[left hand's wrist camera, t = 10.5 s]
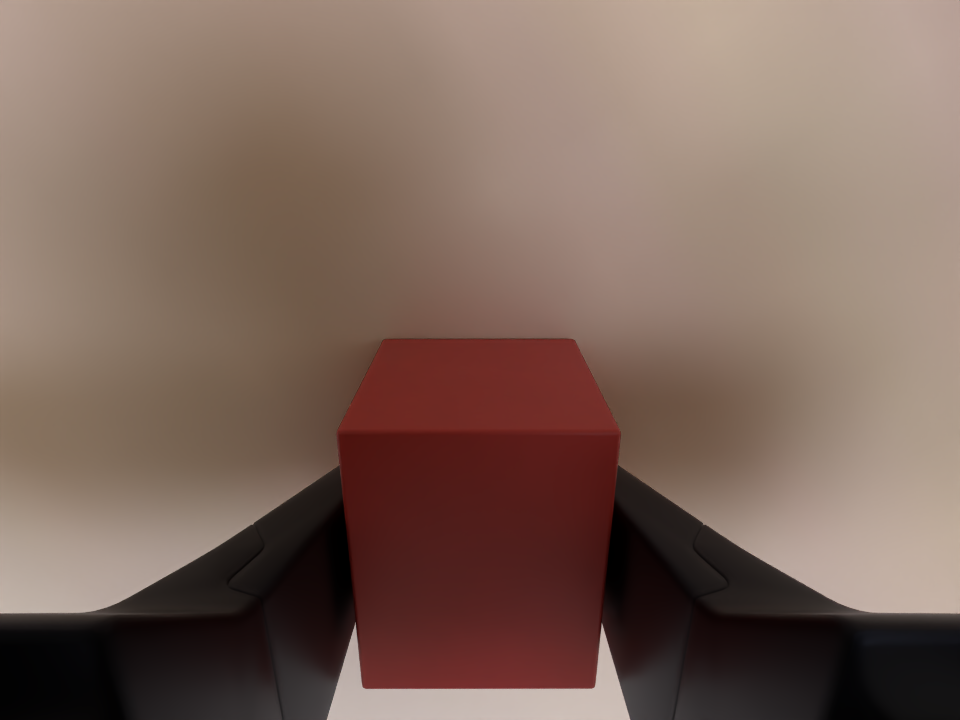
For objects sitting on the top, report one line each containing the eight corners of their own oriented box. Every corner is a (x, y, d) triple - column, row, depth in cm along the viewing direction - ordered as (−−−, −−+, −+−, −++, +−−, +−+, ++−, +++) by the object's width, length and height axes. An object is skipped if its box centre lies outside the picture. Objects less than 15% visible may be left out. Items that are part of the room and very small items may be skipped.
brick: (562, 535, 13) (595, 691, 9) (395, 535, 13) (361, 690, 9) (575, 337, 12) (622, 431, 8) (382, 337, 12) (334, 431, 8)
